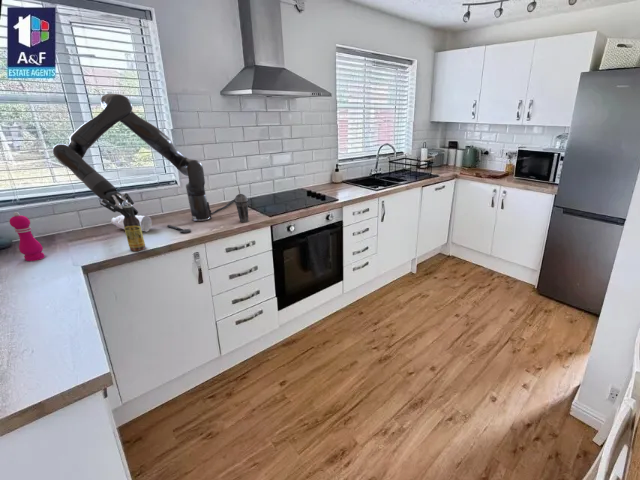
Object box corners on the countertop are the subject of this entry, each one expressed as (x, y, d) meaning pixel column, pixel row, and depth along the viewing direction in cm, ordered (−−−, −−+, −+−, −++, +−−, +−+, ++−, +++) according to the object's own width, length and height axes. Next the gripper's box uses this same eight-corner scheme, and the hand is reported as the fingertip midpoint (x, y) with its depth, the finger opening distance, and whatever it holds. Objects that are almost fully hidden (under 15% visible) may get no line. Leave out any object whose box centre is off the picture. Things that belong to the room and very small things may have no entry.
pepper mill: (28, 263, 151) (7, 215, 142) (21, 259, 155) (0, 212, 146) (49, 257, 157) (30, 211, 148) (42, 254, 160) (23, 208, 151)
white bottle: (121, 226, 197) (117, 211, 194) (154, 228, 195) (150, 214, 192) (110, 230, 190) (105, 215, 187) (143, 233, 188) (139, 218, 185)
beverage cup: (253, 219, 216) (248, 185, 207) (247, 223, 209) (242, 187, 200) (241, 219, 216) (236, 184, 207) (235, 222, 210) (229, 187, 201)
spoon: (172, 225, 201) (172, 223, 200) (192, 231, 193) (192, 229, 193) (163, 228, 197) (163, 225, 197) (184, 234, 189) (183, 231, 189)
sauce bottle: (129, 252, 165) (116, 209, 156) (130, 247, 170) (117, 205, 161) (146, 250, 168) (134, 207, 159) (147, 245, 173) (135, 204, 164)
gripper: (88, 182, 150) (124, 214, 154) (116, 176, 162) (148, 205, 166) (81, 195, 153) (116, 225, 157) (109, 188, 165) (141, 216, 169)
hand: (132, 215), depth 161 cm, fingers closed on sauce bottle, 4 cm apart
